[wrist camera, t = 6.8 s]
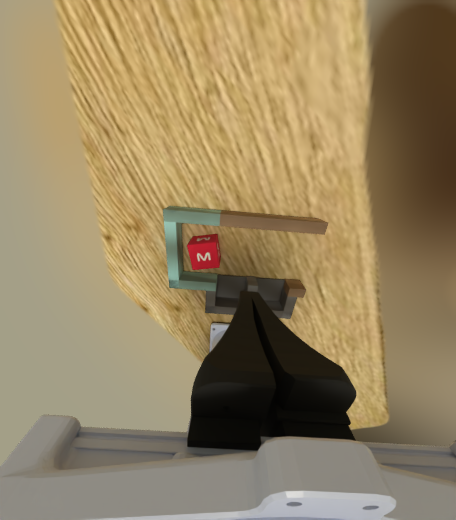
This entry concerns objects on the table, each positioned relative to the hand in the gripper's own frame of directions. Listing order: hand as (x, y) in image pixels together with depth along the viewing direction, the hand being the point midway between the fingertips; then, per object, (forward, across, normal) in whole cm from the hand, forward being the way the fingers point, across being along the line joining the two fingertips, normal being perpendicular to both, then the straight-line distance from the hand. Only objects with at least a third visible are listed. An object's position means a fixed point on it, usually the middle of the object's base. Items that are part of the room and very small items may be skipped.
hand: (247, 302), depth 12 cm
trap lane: (+10, 0, +2) cm, 10 cm away
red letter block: (+10, +4, 0) cm, 11 cm away
